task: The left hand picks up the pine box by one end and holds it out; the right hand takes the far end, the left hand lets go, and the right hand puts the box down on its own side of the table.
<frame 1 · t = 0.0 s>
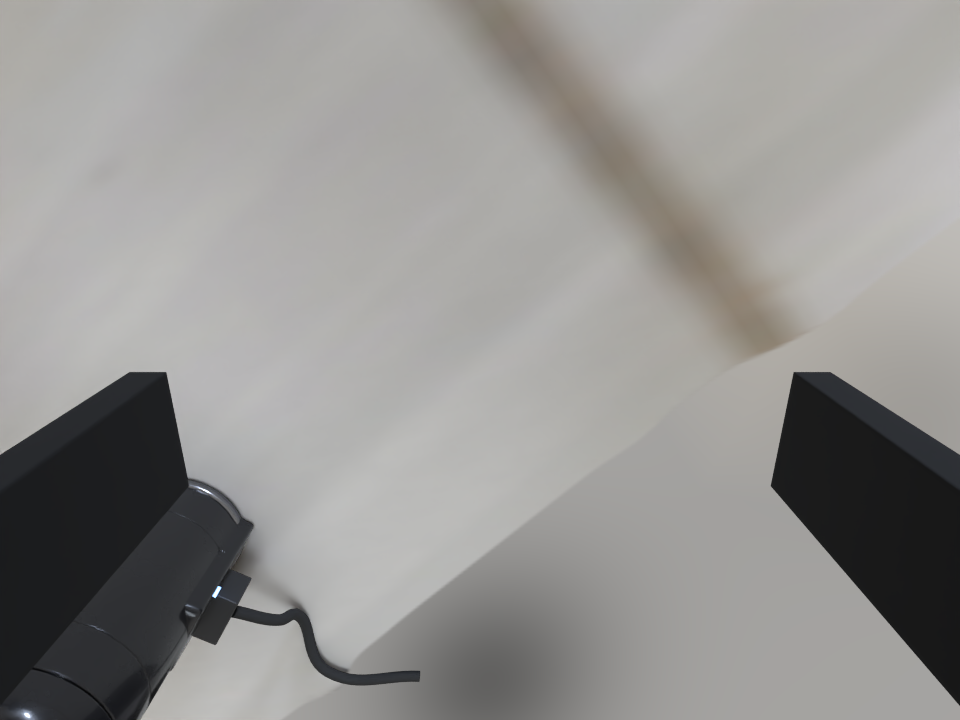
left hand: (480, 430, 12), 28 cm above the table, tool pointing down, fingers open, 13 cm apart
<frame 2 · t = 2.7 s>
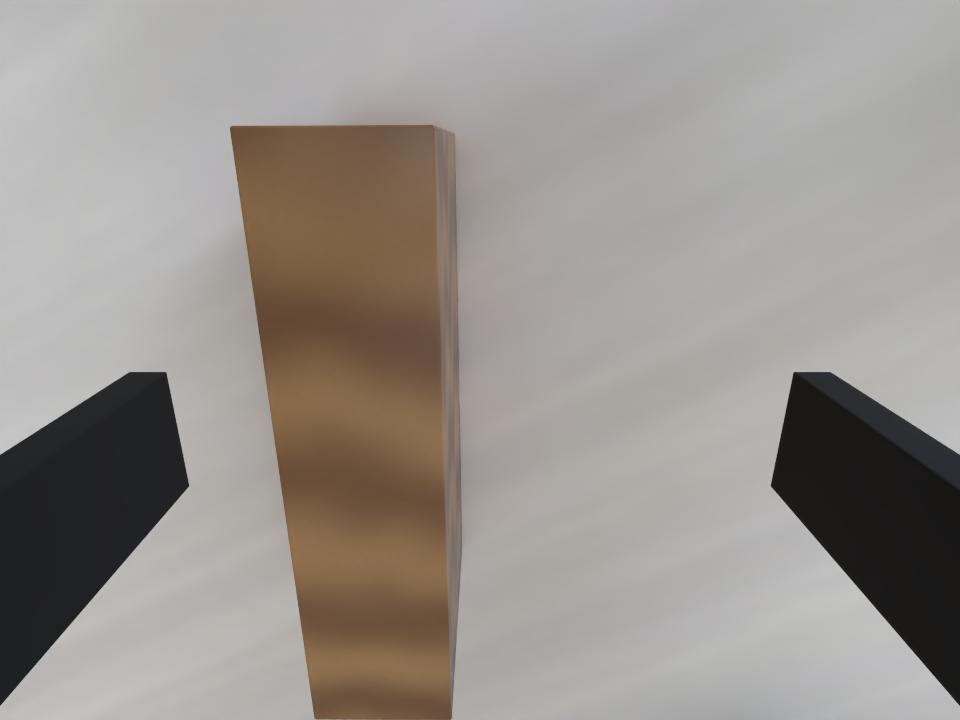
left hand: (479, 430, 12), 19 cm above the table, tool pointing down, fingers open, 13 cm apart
box: (404, 368, 33), on the table
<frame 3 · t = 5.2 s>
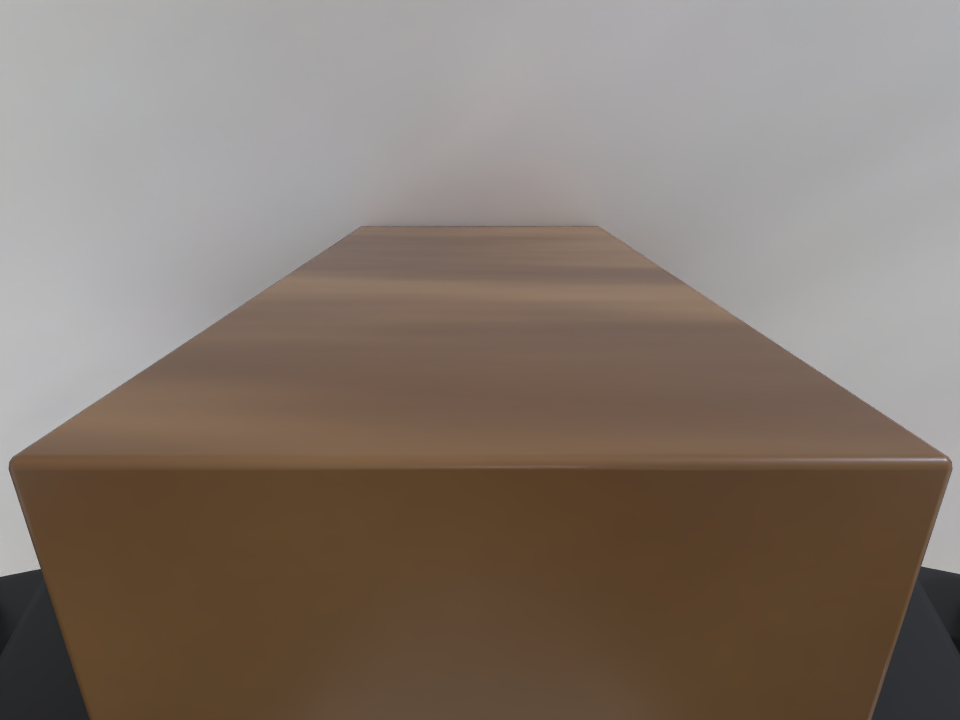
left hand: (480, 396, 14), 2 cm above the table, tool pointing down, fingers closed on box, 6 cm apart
box: (480, 607, 19), on the table, touching left hand
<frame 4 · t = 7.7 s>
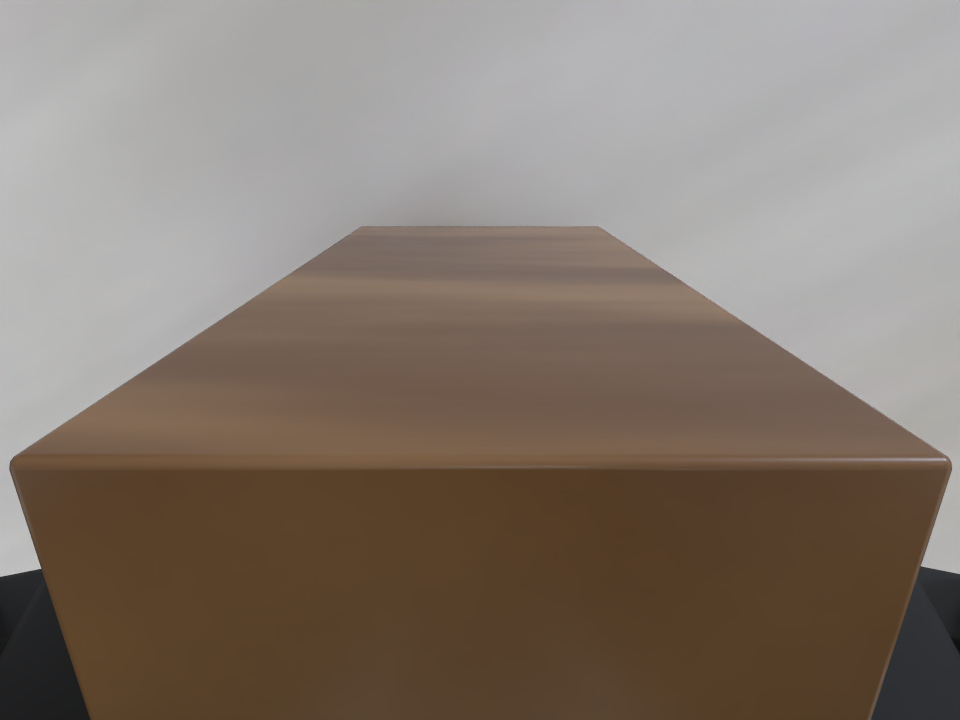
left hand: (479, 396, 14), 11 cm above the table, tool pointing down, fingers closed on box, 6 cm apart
box: (480, 607, 19), point 9 cm above the table, touching left hand
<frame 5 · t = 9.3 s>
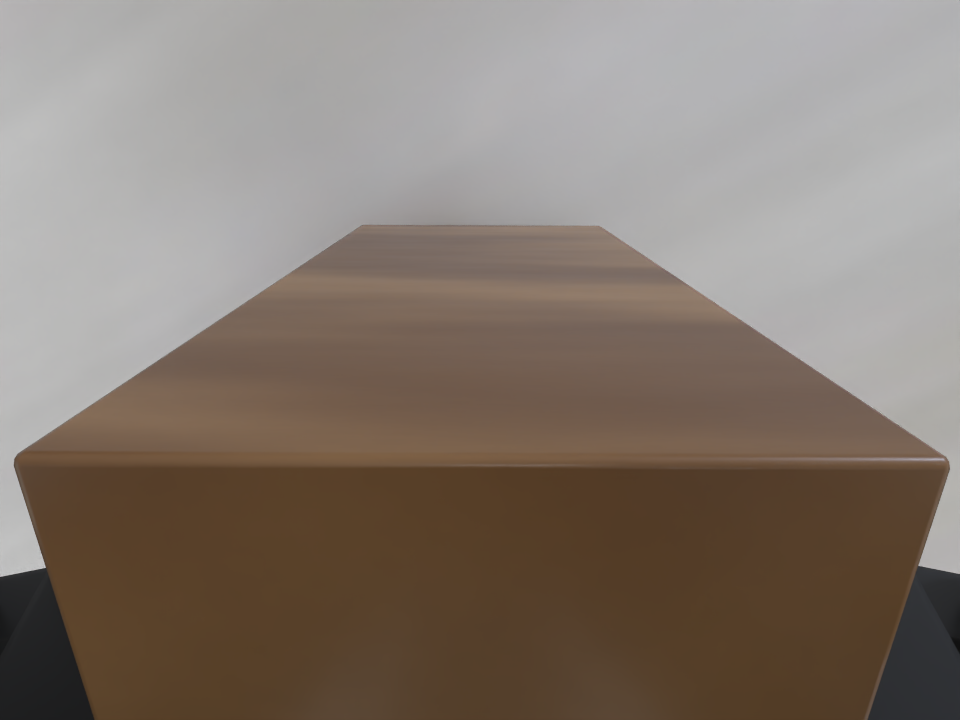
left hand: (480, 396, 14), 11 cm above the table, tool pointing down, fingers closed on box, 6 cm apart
box: (479, 605, 19), point 9 cm above the table, touching left hand, right hand
when the left hand's fingers open (11 cm above the table, at t = 10.2 s): box stays where it is, held by the right hand.
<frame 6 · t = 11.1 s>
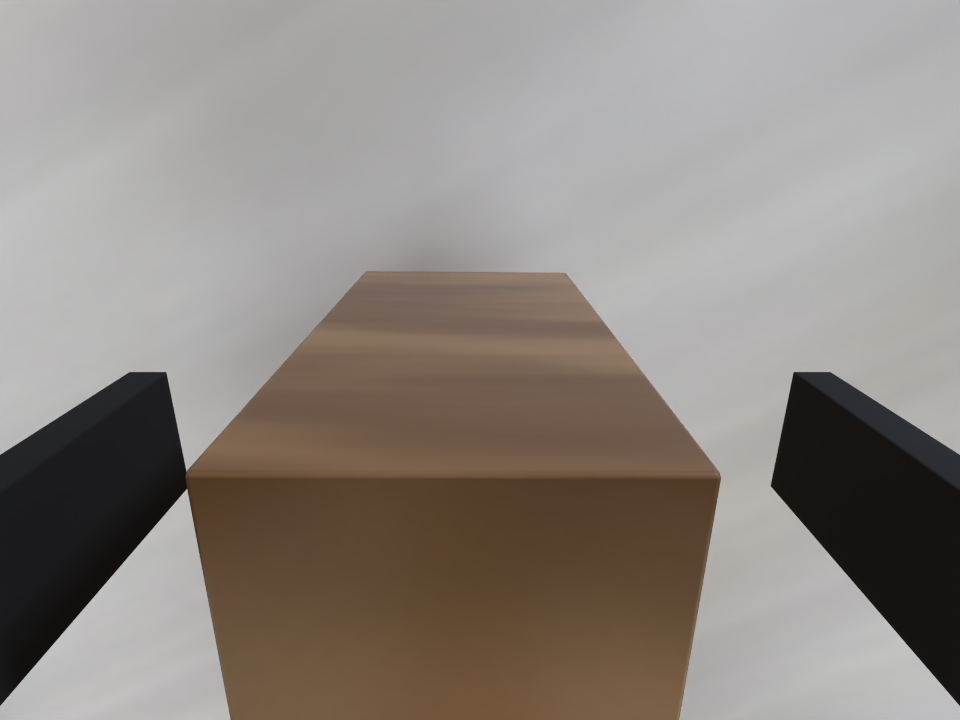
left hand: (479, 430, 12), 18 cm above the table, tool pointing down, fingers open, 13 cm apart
box: (465, 595, 22), point 12 cm above the table, touching right hand
when the right hand's fingers open (9 cm above the table, at t = 14.6 s): box drops 1 cm, on the table.
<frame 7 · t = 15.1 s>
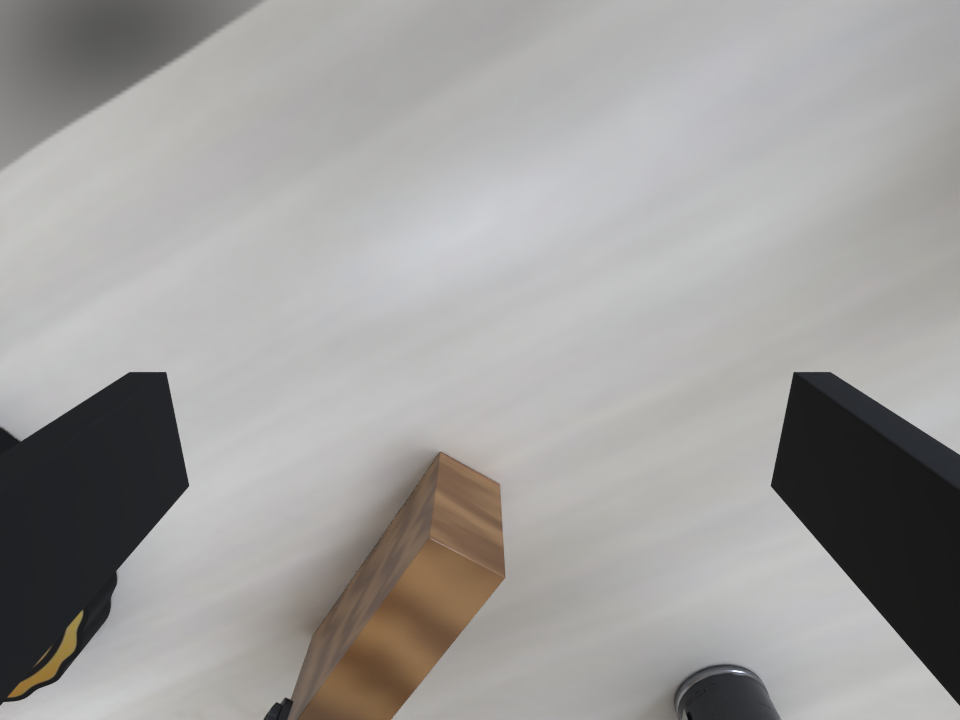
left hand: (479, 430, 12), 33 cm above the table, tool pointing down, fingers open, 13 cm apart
box: (400, 565, 54), on the table
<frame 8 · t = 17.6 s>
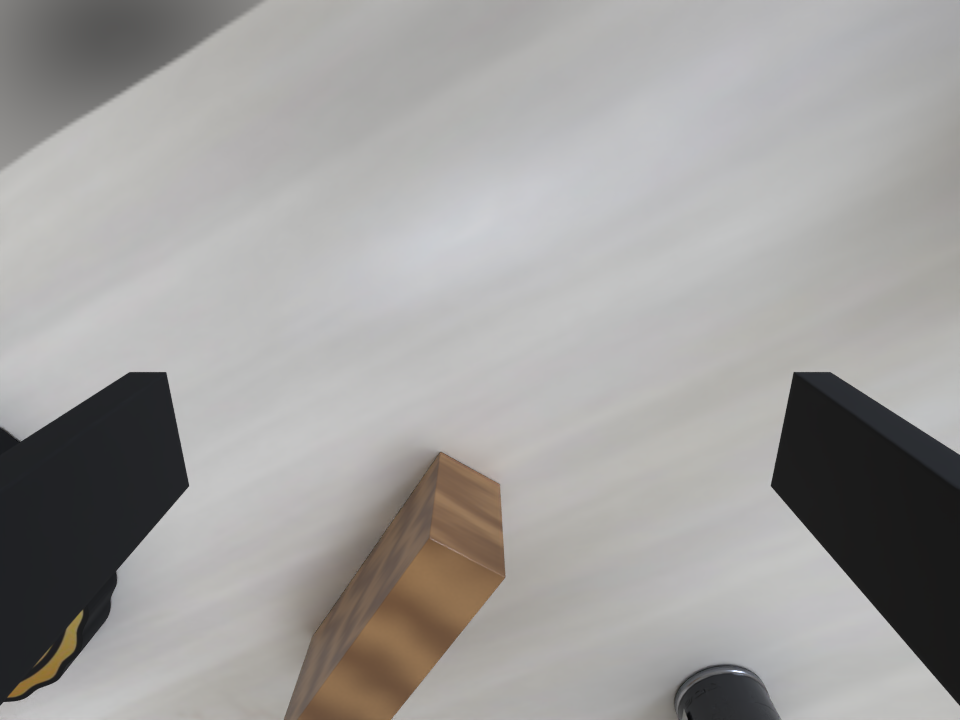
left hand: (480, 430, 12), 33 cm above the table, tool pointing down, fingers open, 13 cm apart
box: (400, 565, 54), on the table
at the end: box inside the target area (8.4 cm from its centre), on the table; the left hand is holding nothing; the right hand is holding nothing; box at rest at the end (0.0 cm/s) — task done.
